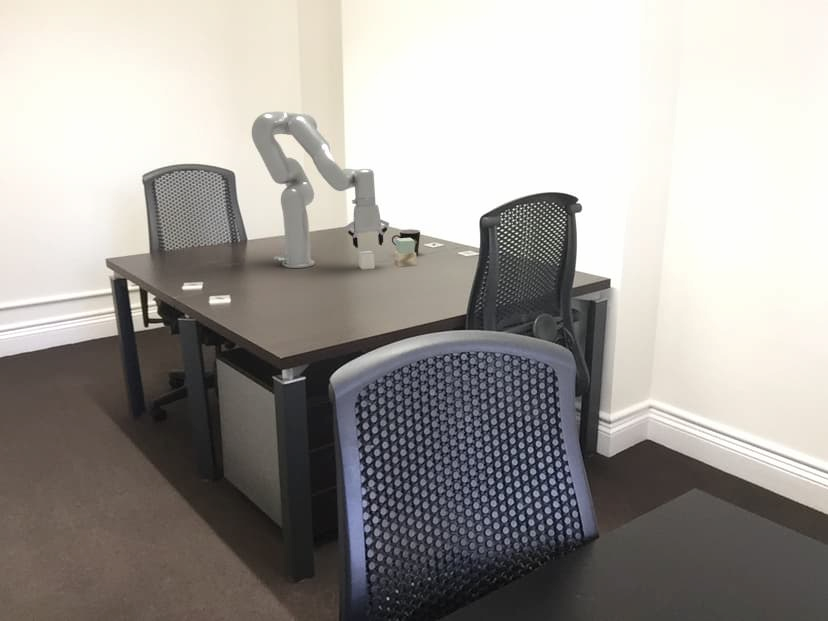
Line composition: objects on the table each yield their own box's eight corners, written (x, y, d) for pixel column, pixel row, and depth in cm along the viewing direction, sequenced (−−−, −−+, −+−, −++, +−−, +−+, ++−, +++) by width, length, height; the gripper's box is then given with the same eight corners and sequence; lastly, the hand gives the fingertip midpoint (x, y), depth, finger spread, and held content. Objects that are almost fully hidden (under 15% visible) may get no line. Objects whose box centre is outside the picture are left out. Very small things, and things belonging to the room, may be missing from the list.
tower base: (399, 266, 287) (399, 254, 285) (394, 262, 293) (394, 250, 292) (416, 265, 289) (416, 253, 287) (411, 261, 295) (411, 249, 294)
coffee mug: (421, 252, 310) (421, 229, 308) (419, 257, 302) (419, 233, 299) (394, 252, 312) (393, 229, 309) (391, 256, 303) (391, 233, 300)
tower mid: (399, 254, 286) (399, 241, 285) (396, 250, 291) (395, 238, 290) (414, 253, 288) (414, 240, 286) (410, 249, 293) (410, 237, 292)
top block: (362, 269, 283) (361, 254, 281) (359, 266, 287) (358, 251, 286) (374, 268, 284) (374, 253, 282) (371, 265, 289) (371, 250, 287)
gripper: (345, 205, 273) (348, 250, 277) (389, 201, 277) (392, 245, 282) (341, 202, 280) (344, 246, 284) (385, 199, 284) (387, 242, 289)
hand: (368, 246), depth 283 cm, fingers open, 9 cm apart
